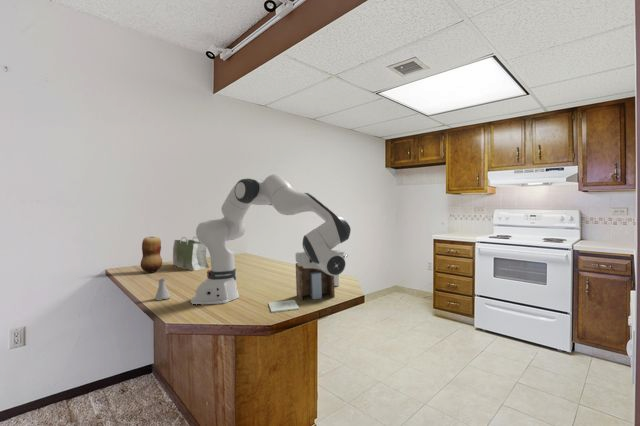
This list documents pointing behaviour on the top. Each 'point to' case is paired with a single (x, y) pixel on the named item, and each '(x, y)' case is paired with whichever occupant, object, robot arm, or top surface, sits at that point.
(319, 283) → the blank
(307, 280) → the shelf cubby
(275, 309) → the plate
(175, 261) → the grocery bag
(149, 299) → the top surface
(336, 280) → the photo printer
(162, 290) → the flask
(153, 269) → the butternut squash
